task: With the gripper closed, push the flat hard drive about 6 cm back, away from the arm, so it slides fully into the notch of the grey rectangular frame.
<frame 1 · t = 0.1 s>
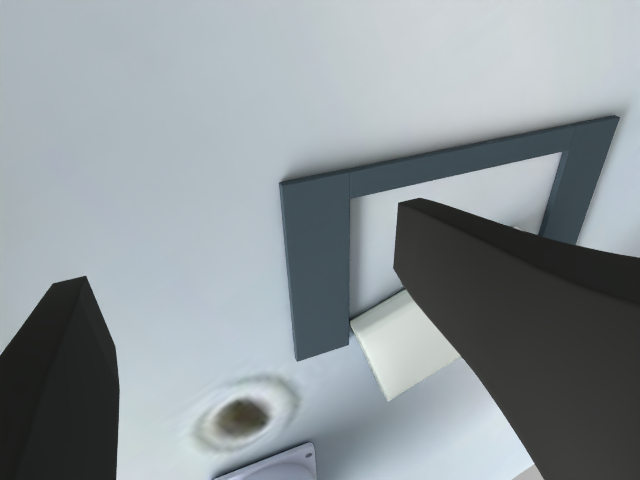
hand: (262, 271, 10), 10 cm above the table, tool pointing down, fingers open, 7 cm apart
hard drive: (440, 308, 31), on the table
grey rectangular frame: (453, 237, 27), on the table
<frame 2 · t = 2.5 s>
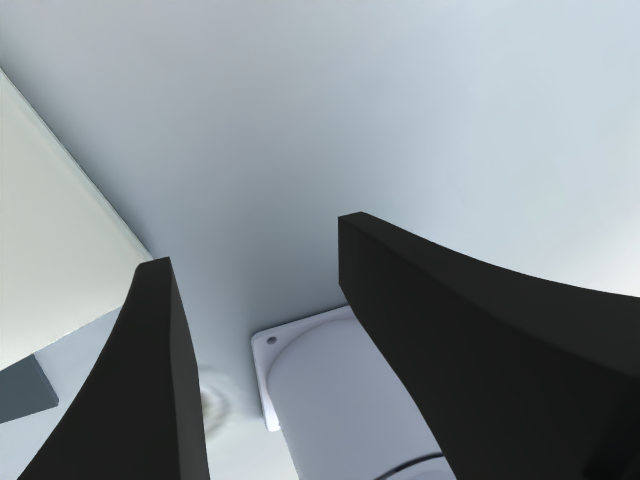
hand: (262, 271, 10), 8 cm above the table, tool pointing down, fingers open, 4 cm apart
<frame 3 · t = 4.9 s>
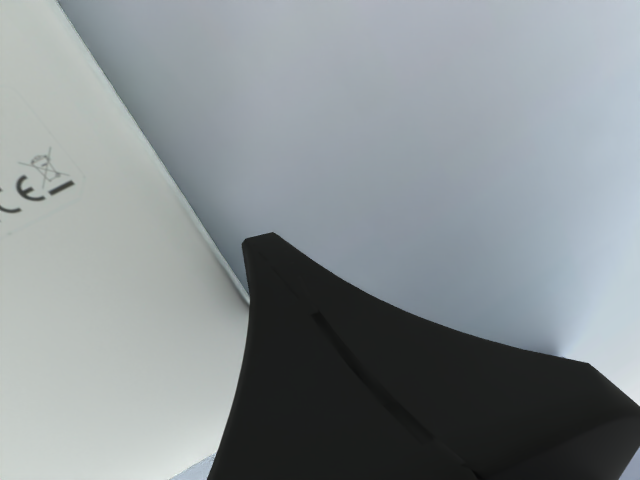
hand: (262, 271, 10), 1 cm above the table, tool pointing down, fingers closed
hard drive: (30, 291, 10), on the table, touching gripper
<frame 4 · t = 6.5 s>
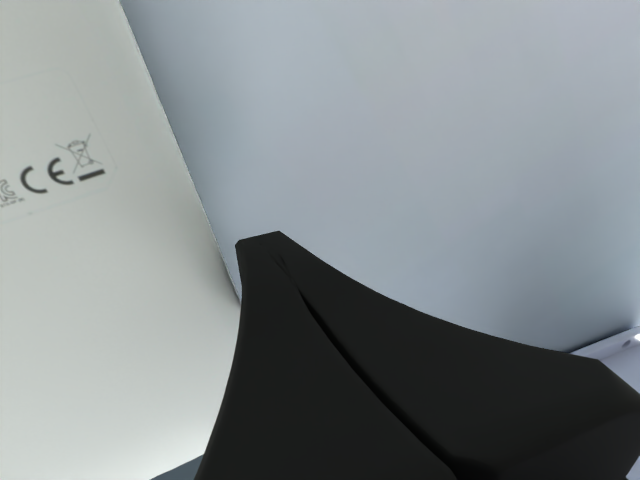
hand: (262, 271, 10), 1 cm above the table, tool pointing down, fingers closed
hard drive: (25, 275, 10), on the table, touching gripper
grey rectangular frame: (0, 303, 10), on the table
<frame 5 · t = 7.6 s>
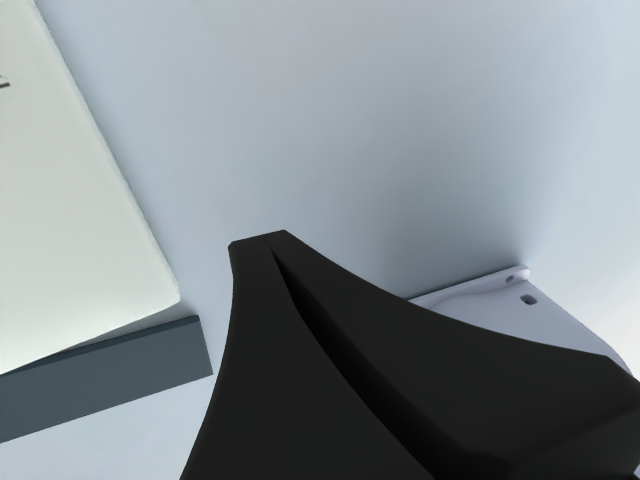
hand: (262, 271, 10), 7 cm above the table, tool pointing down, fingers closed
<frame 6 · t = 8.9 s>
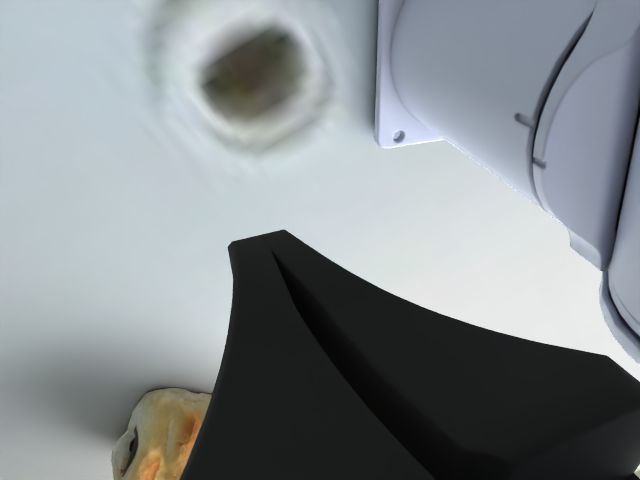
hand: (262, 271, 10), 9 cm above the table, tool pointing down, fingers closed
pastry: (193, 419, 27), on the table
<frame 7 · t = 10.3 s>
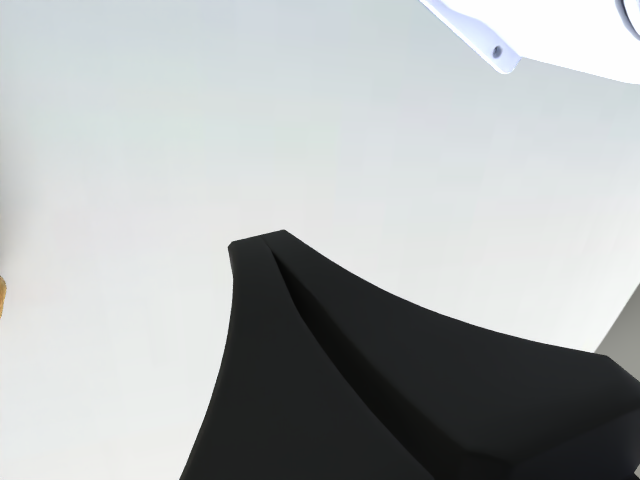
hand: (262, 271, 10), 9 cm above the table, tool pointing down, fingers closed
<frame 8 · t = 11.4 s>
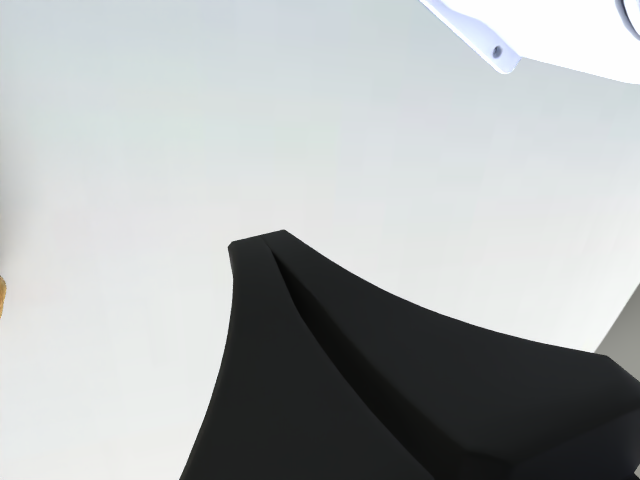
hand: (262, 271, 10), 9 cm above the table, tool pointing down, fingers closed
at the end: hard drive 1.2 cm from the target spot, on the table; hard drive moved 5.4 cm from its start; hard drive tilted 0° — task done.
